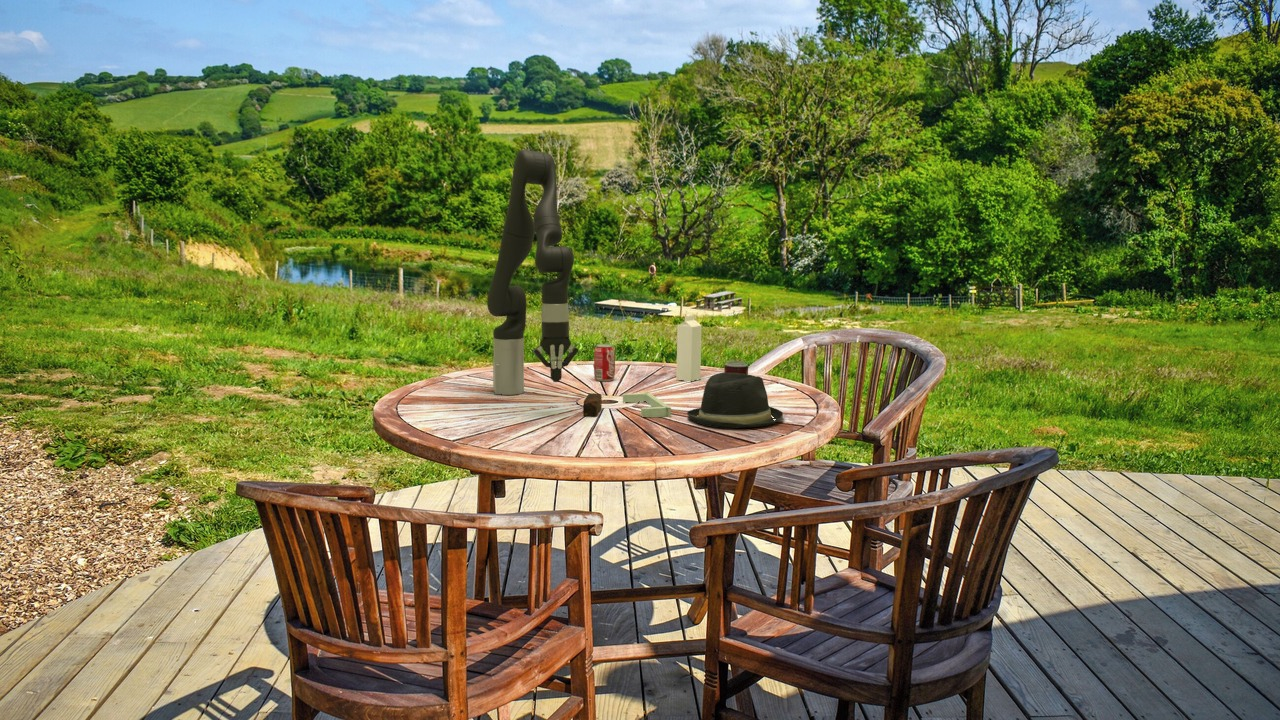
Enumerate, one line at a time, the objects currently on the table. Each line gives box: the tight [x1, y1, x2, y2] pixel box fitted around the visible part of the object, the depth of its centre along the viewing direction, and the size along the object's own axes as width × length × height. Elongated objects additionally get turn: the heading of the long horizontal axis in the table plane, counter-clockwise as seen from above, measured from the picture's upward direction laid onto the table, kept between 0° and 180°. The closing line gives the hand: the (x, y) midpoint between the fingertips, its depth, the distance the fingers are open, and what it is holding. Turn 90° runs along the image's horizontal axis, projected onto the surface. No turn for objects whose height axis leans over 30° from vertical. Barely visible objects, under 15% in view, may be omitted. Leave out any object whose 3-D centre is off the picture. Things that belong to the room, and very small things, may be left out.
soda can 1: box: [593, 343, 616, 383], centre depth 289 cm, size 7×7×12 cm
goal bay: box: [622, 392, 672, 418], centre depth 247 cm, size 8×21×2 cm, turn 16°
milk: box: [675, 315, 703, 382], centre depth 291 cm, size 6×6×22 cm
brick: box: [582, 392, 603, 417], centre depth 242 cm, size 11×4×5 cm, turn 175°
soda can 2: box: [723, 360, 749, 375], centre depth 257 cm, size 7×7×12 cm
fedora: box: [686, 372, 784, 429], centre depth 236 cm, size 25×27×12 cm
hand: (556, 381), depth 238 cm, fingers closed
